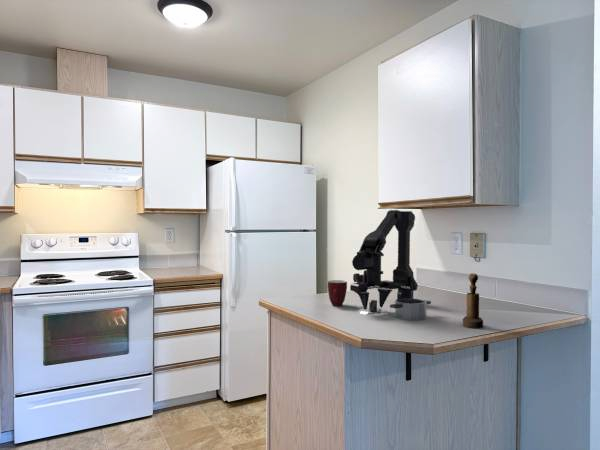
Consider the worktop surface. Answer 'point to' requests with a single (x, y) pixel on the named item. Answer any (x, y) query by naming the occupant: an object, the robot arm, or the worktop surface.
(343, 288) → the mug
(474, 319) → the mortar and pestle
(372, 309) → the lid
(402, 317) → the pot
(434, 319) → the worktop surface
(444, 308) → the worktop surface
